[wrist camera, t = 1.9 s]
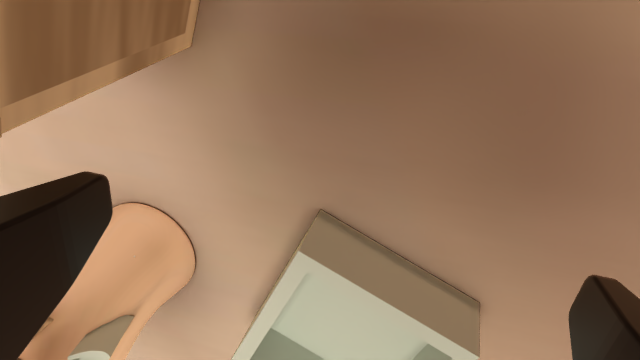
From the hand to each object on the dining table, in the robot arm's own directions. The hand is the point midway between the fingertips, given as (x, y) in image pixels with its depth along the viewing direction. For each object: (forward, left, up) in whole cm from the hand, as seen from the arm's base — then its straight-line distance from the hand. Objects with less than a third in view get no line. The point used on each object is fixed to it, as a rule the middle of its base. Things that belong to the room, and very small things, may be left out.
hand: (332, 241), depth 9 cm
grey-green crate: (-7, +12, -12) cm, 18 cm away
